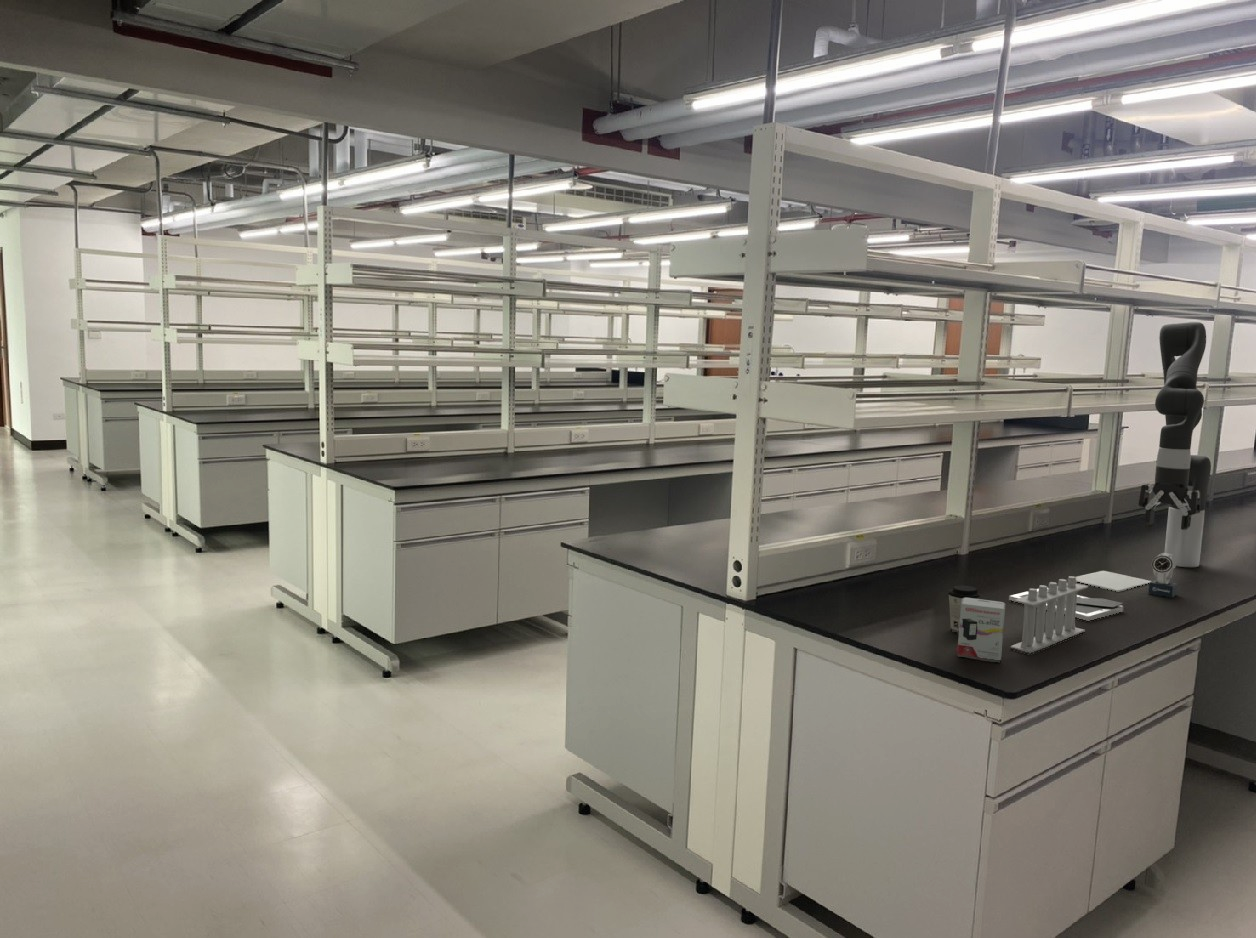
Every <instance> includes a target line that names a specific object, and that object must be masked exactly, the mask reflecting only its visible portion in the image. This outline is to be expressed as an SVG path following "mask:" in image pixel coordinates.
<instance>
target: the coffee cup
mask: <svg viewBox="0 0 1256 938" xmlns="http://www.w3.org/2000/svg"><path fill="white" fill-rule="evenodd" d="M947 594H948V603H949V617H950V618H949V619H950V620H949V621H950V629H951V628H952V629H954V630H957V631H959V625H960V613H961V601H962V598H974V599H980V598H981V594H980V592H978V589H977V588H976V587H974V586H968V585H962V584H961V585H955V586H953V588H951V589H948V591H947Z"/></svg>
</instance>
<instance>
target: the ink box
mask: <svg viewBox="0 0 1256 938" xmlns="http://www.w3.org/2000/svg"><path fill="white" fill-rule="evenodd" d="M1005 613H1006V603H1005V602H1003V601H997V600H991V599H990V600H988V599H983V598H982V599H980V598H979V599H974V598H962V601H961V613H960V625H959V633H958V640H957V649H956V650H957V651H956V652H957V653H956V655H957V654H960V655H966V656H974V657H980V658H987V659H994V660H1001V661H1002V653H1003V638H1004V627H1005V615H1006V614H1005Z"/></svg>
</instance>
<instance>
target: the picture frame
mask: <svg viewBox="0 0 1256 938" xmlns="http://www.w3.org/2000/svg"><path fill="white" fill-rule="evenodd" d="M1036 589H1037V592H1039V589H1038V588H1036ZM1047 589H1049V587H1047ZM1028 591H1029V590H1028ZM1028 591H1024V592H1019V593H1016V594H1010V595H1009V596H1008V601H1009V600H1012V601H1014V600H1016V599H1019V598H1022V597H1025V596H1028V593H1029V592H1028ZM1066 596H1067V595H1066ZM1123 605H1124V603H1123V602H1121V601H1115V600H1111V599H1106V598H1097V597H1095V598H1093V597H1092V598H1091V597H1087V596H1083V595H1079V594H1077V603H1076V615H1075V617H1077V618H1079V619H1083V620H1086V621H1090V620H1094V619H1097V618H1100V619H1102V618H1101V617H1104V618H1106V617H1105V616H1107V617H1110V616H1109V615H1111V616H1114V615H1117V614H1120V613H1119V612H1121V613H1123V612H1124V606H1123ZM1056 606H1057V598H1056ZM1036 607H1037V605H1036ZM1065 608H1066V600H1065ZM1046 610H1047V602H1046ZM1055 612H1056V608H1055ZM1116 613H1117V614H1116ZM1064 614H1065V612H1064ZM1113 614H1114V615H1113ZM1079 619H1078V620H1079ZM1097 620H1098V619H1097ZM1086 621H1085V622H1086ZM1094 621H1095V620H1094ZM1090 622H1091V621H1090Z"/></svg>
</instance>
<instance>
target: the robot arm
mask: <svg viewBox="0 0 1256 938" xmlns="http://www.w3.org/2000/svg"><path fill="white" fill-rule="evenodd" d="M1205 326H1206V325H1204V324H1203V323H1202V322H1199V321H1190V322H1178V323H1168V324H1164V325H1162V326H1161V328H1160V330H1159V337H1158V338H1159V350H1160V357H1161V358H1160V359H1161V363H1162V365H1161V367H1162V372H1163V373H1162V375H1163V386H1162V387H1161V388H1160V390H1159V391H1158V393H1157V395H1156V397H1155V402H1154V403H1155V404H1154V406H1155V410H1156V411H1157V412H1158V413H1159V414H1160V415H1164V417H1165V425H1163V426H1162V427H1161V429H1160V435H1159V436H1160V437H1159V445H1158V446H1159V447H1158V452H1157V455H1156V456H1157V457H1156V461H1155V463H1156V465H1155V474H1154V485H1151V484H1148V483H1145V484H1142V485H1141V487H1140V493H1139V500H1138V506H1139V507H1140V508H1144V509H1145V518H1144V520H1145V522H1146V525H1153V524H1154V523H1155V515H1156V507H1157V506H1158V505H1160V504H1163V505H1165V504H1168V514H1167V522H1166V534H1165V545H1164V552H1163V553H1166V554H1172V555H1173V558H1174V563H1173V565H1175V567H1182V568H1197V567H1199V566H1200V559H1201V551H1202V543H1203V542H1202V541H1203V531H1204V523H1205V513H1206V511H1205V510H1206V503H1207V498H1208V488H1209V483H1210V478H1211V471H1212V464H1211V460H1210V458H1209V457H1208V456H1204V455H1193V454H1191V447H1192V437H1193V433H1194V429H1195V428H1196V427H1197V426H1198V425H1199V423H1201V422H1200V421H1201V420H1202V416H1203V406H1204V403H1205V398H1204V394H1203V393H1202V392H1201V390H1199V389H1198V388H1197V383H1198V382H1197V381H1198V372H1199V371H1198V370H1199V368H1200V365H1201V364H1202V363H1201V362H1202V359H1203V356H1204V353H1205V350H1206V345H1207V329H1206V327H1205ZM1176 357H1178V358H1177V359H1176ZM1188 487H1192V489H1191V490H1189V489H1188ZM1152 492H1153V494H1154V496H1153V497H1152V498H1151V499H1150V500H1149V498H1150V494H1151V493H1152Z"/></svg>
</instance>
